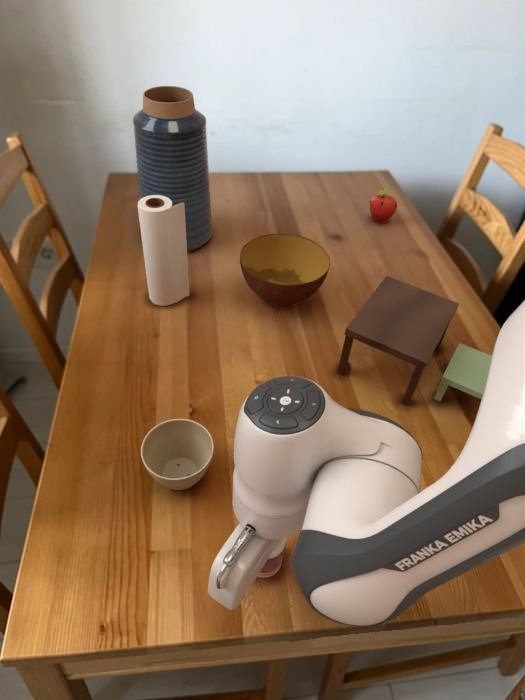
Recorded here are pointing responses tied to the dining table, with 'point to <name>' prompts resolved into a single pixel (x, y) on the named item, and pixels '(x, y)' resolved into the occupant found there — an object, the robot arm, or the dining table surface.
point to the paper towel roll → (164, 249)
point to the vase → (175, 156)
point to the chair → (466, 372)
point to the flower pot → (177, 453)
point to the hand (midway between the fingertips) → (265, 549)
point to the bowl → (284, 268)
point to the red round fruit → (382, 207)
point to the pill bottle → (273, 560)
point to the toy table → (401, 326)
